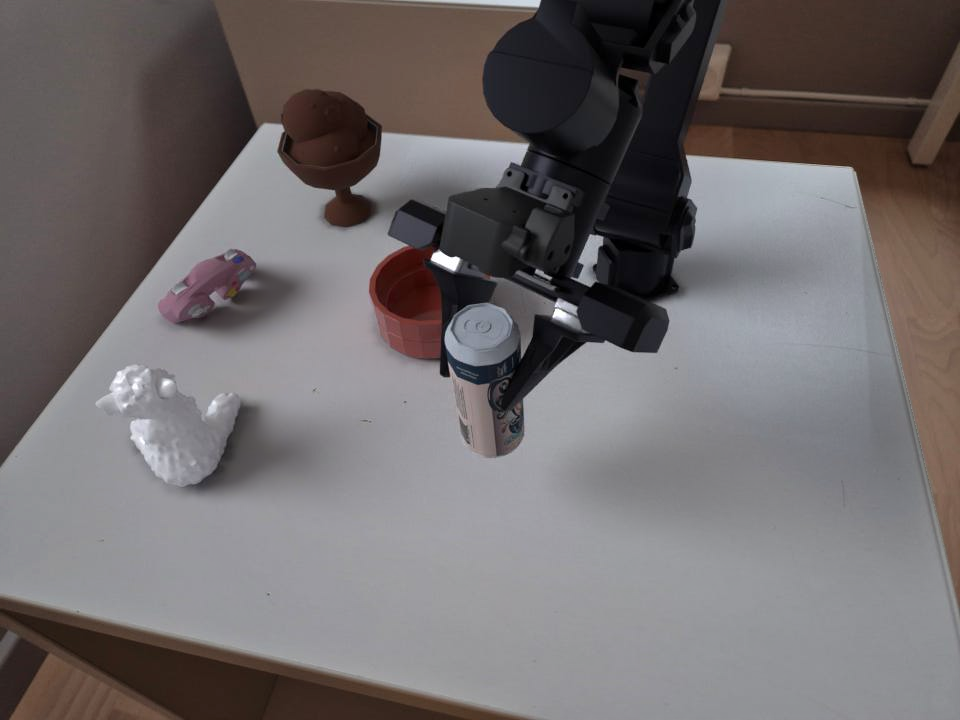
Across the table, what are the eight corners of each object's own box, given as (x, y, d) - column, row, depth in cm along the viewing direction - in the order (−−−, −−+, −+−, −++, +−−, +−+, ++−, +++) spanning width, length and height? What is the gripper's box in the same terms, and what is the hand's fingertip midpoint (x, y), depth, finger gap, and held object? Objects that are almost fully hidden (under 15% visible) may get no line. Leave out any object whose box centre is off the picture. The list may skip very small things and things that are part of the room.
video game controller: (185, 344, 75) (180, 314, 68) (154, 312, 75) (146, 280, 69) (262, 289, 79) (265, 257, 73) (233, 259, 80) (233, 224, 73)
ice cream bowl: (376, 248, 80) (349, 123, 69) (283, 234, 83) (242, 112, 71) (409, 189, 87) (390, 66, 75) (322, 178, 89) (290, 57, 78)
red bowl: (470, 267, 77) (466, 229, 74) (509, 340, 70) (508, 303, 67) (365, 297, 75) (356, 260, 72) (395, 376, 68) (387, 339, 65)
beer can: (519, 466, 54) (513, 358, 44) (454, 457, 54) (435, 350, 45) (529, 412, 57) (525, 301, 47) (467, 405, 57) (451, 294, 48)
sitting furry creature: (243, 399, 68) (196, 305, 59) (256, 475, 62) (207, 385, 53) (136, 430, 66) (71, 339, 57) (139, 512, 61) (69, 425, 52)
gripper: (381, 86, 44) (294, 330, 47) (671, 194, 36) (541, 479, 39) (474, 137, 53) (396, 336, 57) (717, 230, 45) (610, 455, 49)
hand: (474, 392), depth 50 cm, fingers closed on beer can, 5 cm apart
